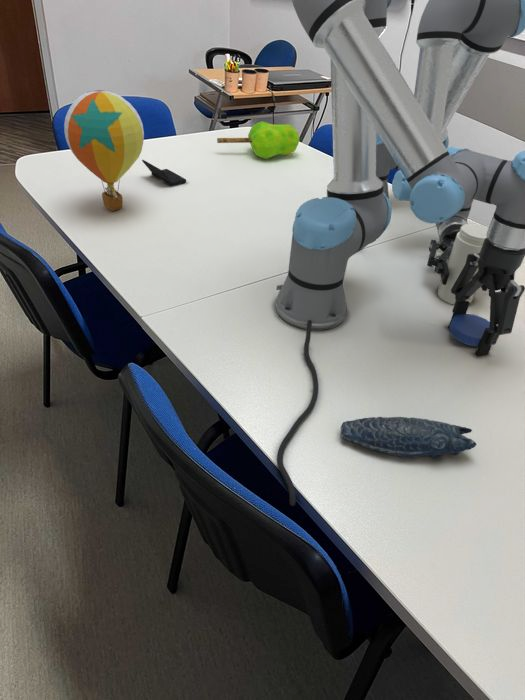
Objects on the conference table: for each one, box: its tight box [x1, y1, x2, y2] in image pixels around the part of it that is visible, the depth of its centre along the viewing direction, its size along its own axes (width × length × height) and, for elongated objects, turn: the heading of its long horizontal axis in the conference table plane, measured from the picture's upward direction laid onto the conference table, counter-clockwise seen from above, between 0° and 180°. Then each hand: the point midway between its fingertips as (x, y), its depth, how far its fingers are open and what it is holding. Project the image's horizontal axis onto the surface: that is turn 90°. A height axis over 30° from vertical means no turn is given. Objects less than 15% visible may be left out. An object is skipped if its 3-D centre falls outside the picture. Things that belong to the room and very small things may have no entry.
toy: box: [63, 89, 145, 212], centre depth 136 cm, size 20×20×30 cm
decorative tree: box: [216, 121, 300, 160], centre depth 186 cm, size 18×10×30 cm
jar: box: [437, 223, 489, 305], centre depth 117 cm, size 8×8×17 cm
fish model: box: [340, 416, 477, 458], centre depth 82 cm, size 7×21×5 cm, turn 84°
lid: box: [448, 313, 490, 347], centre depth 106 cm, size 9×9×2 cm
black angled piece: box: [141, 159, 187, 187], centre depth 162 cm, size 12×7×10 cm
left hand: (467, 340), depth 108 cm, fingers closed on lid, 9 cm apart
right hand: (466, 282), depth 114 cm, fingers closed on jar, 8 cm apart
